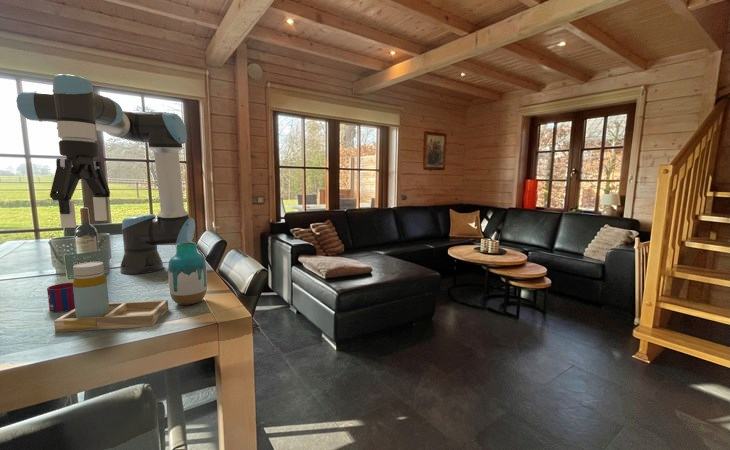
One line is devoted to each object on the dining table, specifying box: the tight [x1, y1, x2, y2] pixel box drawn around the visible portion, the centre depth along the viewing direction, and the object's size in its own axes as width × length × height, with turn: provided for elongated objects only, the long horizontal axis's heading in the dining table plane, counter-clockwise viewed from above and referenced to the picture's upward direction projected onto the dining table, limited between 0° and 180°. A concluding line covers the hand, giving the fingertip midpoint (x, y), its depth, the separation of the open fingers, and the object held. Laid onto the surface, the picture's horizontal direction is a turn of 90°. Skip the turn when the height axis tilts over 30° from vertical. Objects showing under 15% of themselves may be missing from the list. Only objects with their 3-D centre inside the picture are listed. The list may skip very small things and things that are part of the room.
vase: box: [167, 241, 208, 306], centre depth 103 cm, size 11×11×19 cm
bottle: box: [72, 261, 110, 318], centre depth 89 cm, size 7×7×15 cm
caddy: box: [53, 299, 169, 333], centre depth 91 cm, size 12×22×3 cm, turn 102°
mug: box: [46, 282, 75, 313], centre depth 100 cm, size 7×10×7 cm
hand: (86, 223), depth 87 cm, fingers open, 13 cm apart
